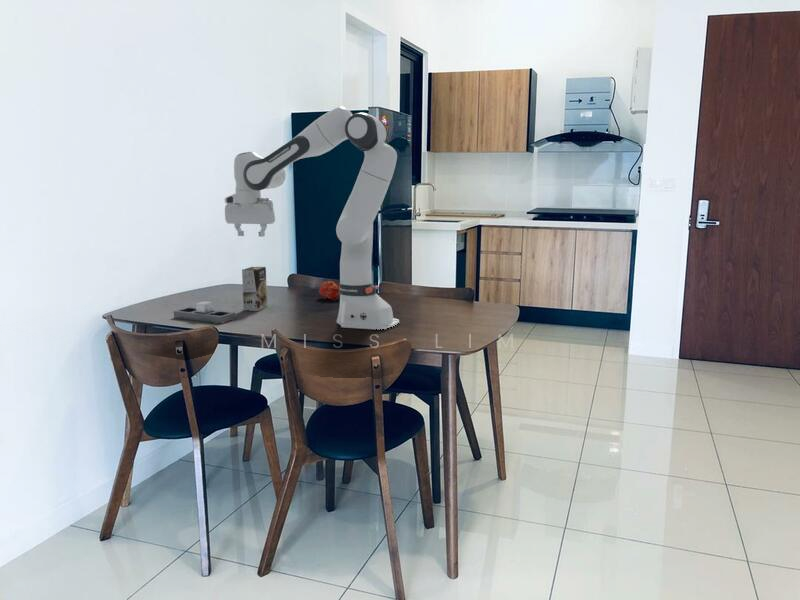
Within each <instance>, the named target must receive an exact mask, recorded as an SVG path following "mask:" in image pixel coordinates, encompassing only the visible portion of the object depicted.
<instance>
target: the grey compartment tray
mask: <svg viewBox="0 0 800 600" xmlns="http://www.w3.org/2000/svg"><path fill="white" fill-rule="evenodd" d="M236 317H237V316H236V312H233V311H225V310H219V309H218V310H217V309H213V312H211V313H207V314H200V313H197V312H196V307H193V306H192V307H190V306H188V307H185V308H181V309H178V310H174V311H173V318H174V319H179V318H182V319H181V320H186V319H188V321H194V320H196V322H202V321H207V322H206V323H210V322H215V323H214V324H217V323H222V324H224V323H223V322H226V321H229V320H232V319H235V318H236ZM236 319H237V318H236ZM236 319H235V320H236ZM232 321H233V320H232ZM229 322H230V321H229ZM226 323H227V322H226Z"/></svg>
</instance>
